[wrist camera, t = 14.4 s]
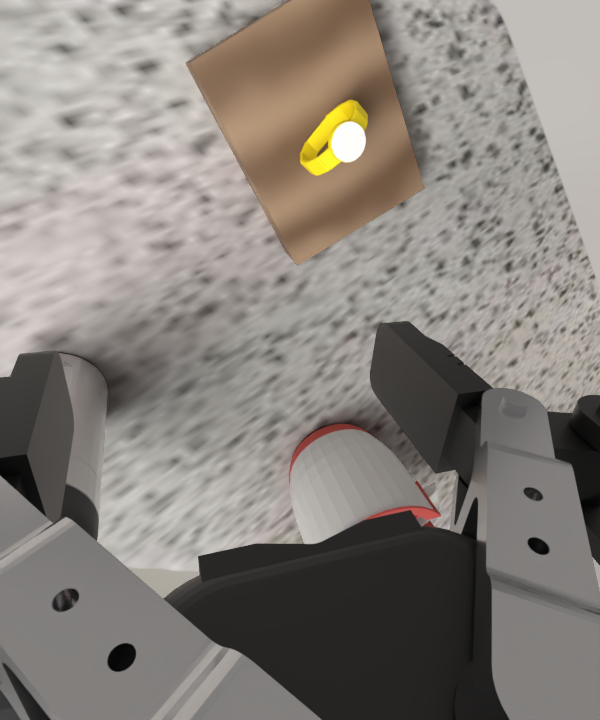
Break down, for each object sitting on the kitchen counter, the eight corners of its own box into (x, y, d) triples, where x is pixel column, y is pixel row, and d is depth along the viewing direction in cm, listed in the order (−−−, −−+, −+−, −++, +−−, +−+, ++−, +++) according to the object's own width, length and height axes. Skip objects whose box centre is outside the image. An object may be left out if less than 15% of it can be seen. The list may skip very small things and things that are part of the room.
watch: (331, 92, 37) (365, 90, 33) (353, 118, 39) (389, 119, 34) (285, 154, 38) (311, 161, 33) (308, 177, 40) (336, 186, 35)
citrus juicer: (400, 463, 69) (482, 583, 53) (293, 512, 68) (344, 650, 52) (383, 386, 61) (476, 501, 44) (260, 439, 59) (309, 579, 43)
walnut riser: (404, 180, 47) (424, 188, 44) (286, 252, 47) (297, 265, 44) (337, -30, 37) (357, -40, 33) (185, 63, 37) (190, 62, 33)
